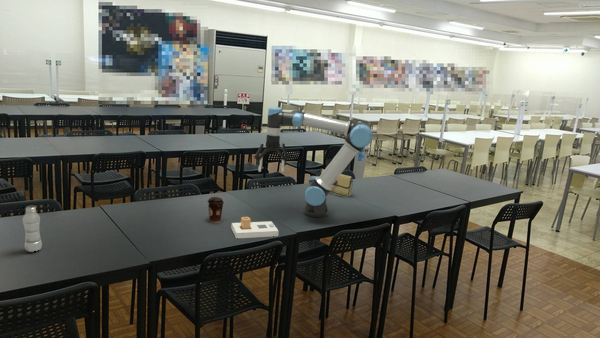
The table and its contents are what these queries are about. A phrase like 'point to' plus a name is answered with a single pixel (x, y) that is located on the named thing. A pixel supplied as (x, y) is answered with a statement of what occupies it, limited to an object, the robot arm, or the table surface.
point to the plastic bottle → (32, 230)
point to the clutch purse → (341, 185)
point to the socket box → (255, 230)
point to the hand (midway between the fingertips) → (270, 171)
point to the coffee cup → (215, 209)
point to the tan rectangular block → (245, 223)
